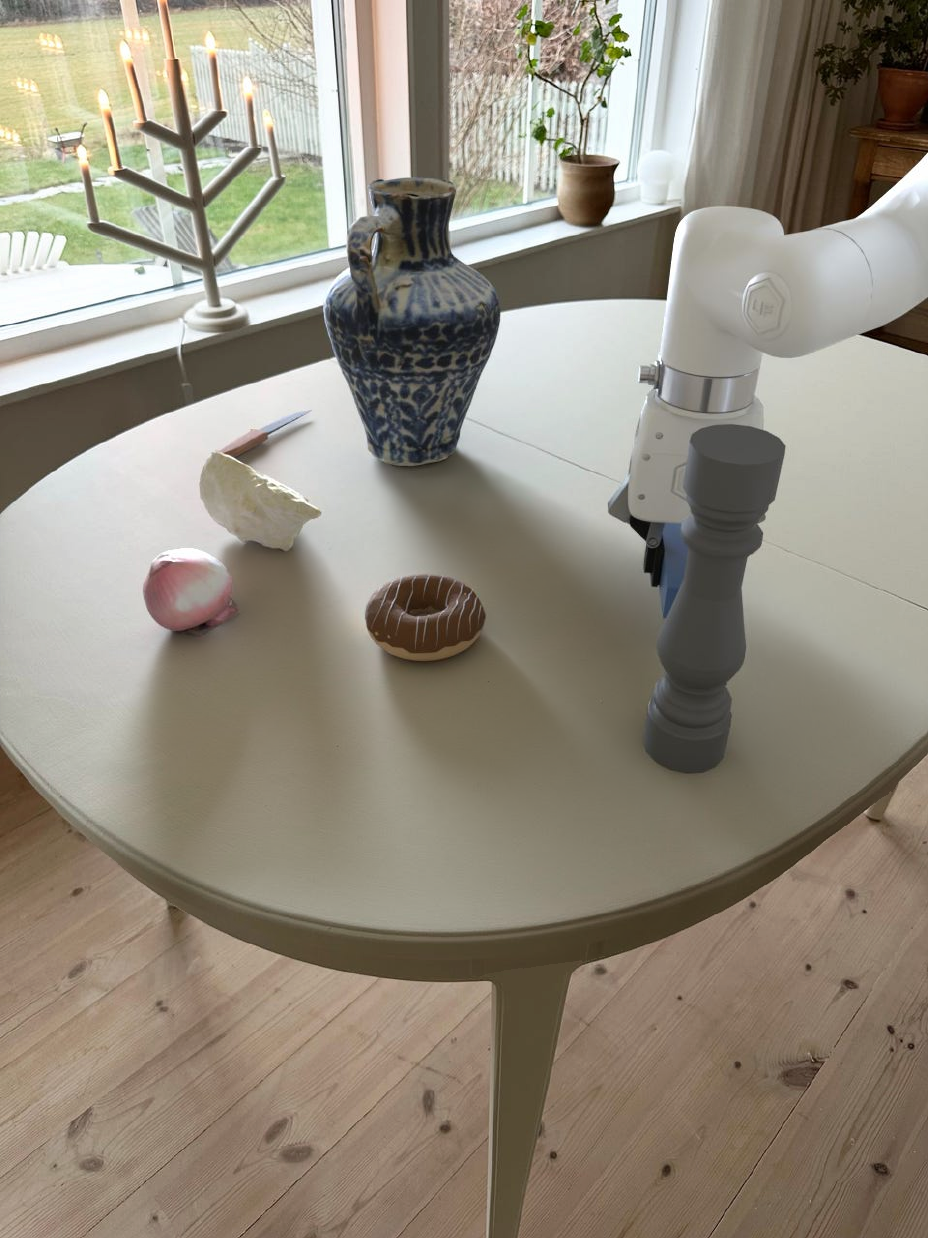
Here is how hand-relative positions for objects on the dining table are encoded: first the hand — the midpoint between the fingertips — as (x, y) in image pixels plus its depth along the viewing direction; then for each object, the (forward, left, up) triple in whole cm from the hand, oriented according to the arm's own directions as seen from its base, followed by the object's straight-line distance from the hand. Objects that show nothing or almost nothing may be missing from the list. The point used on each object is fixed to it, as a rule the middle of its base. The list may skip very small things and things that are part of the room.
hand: (675, 578), depth 82 cm
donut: (+22, +5, -4) cm, 23 cm away
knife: (+48, -34, -4) cm, 59 cm away
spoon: (0, -2, 0) cm, 2 cm away
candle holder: (0, +17, -4) cm, 18 cm away
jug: (+28, -31, -4) cm, 42 cm away
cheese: (+39, -10, -4) cm, 40 cm away
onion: (+43, +5, -4) cm, 43 cm away
